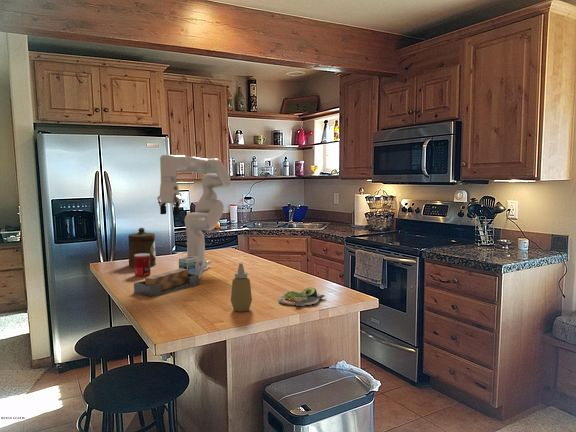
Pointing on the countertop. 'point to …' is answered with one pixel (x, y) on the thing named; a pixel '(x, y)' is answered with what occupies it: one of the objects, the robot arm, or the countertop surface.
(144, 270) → the canned food
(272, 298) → the countertop surface
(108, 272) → the countertop surface
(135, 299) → the countertop surface
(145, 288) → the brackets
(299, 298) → the salad plate
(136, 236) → the wooden container
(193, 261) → the light bulb box
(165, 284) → the rail
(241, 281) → the squeeze bottle
